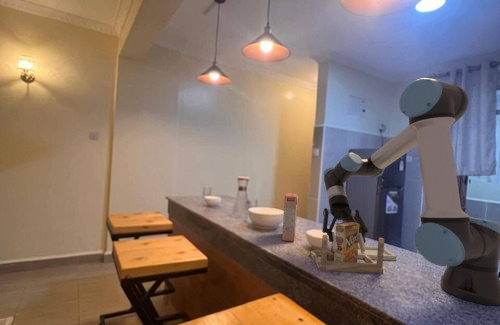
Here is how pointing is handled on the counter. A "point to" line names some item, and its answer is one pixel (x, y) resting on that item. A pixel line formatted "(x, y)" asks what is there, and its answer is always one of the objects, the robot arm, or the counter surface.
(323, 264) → the rack
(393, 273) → the counter surface
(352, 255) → the candy box
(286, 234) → the cracker box
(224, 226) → the counter surface
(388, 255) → the tray
